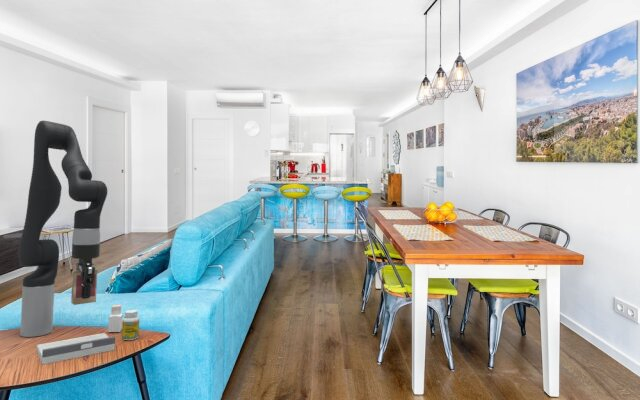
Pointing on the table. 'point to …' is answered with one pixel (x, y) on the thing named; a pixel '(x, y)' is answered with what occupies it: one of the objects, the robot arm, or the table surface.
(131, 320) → the supplement bottle
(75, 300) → the tea box
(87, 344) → the shelf
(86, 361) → the table surface
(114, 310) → the pepper shaker
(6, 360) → the table surface
